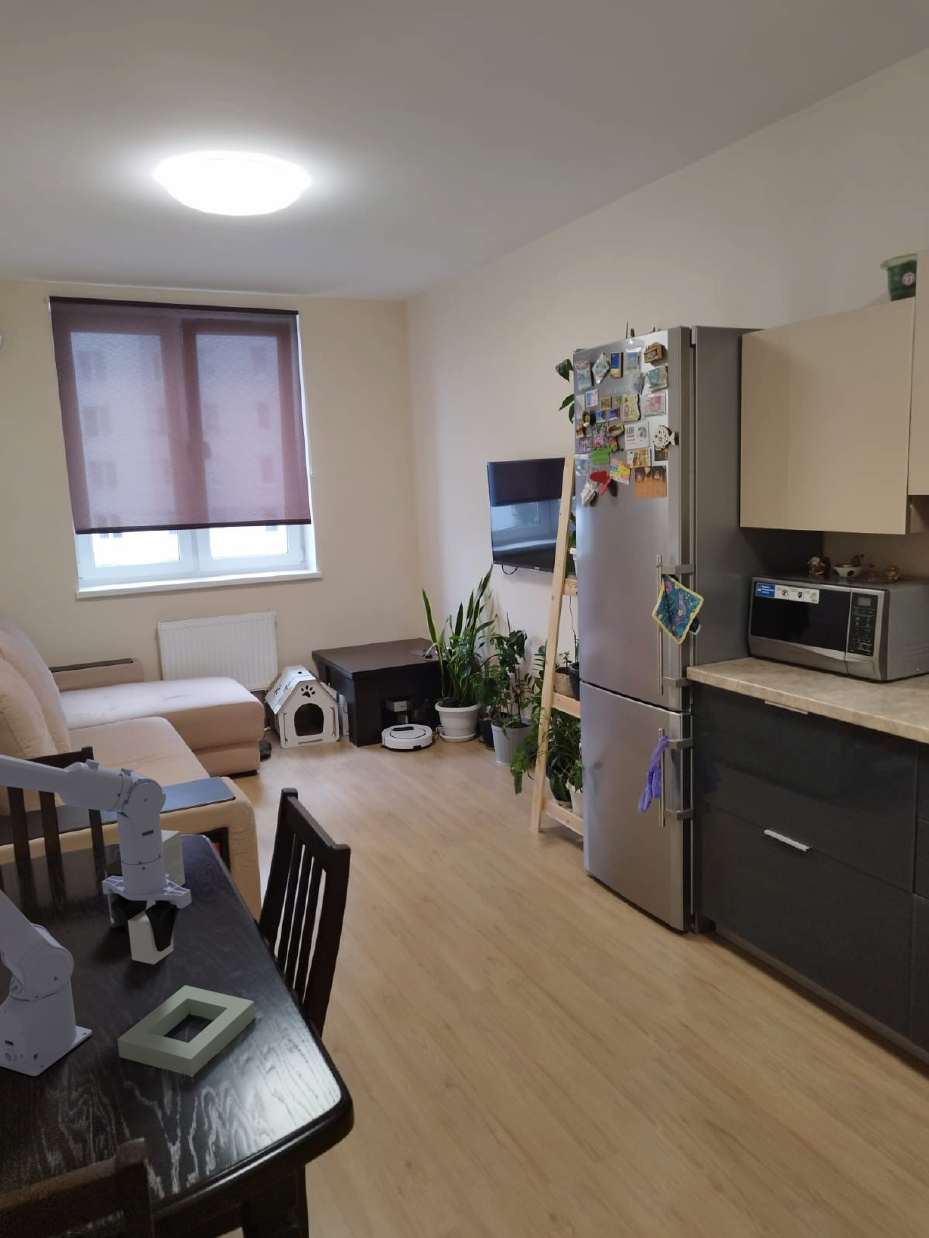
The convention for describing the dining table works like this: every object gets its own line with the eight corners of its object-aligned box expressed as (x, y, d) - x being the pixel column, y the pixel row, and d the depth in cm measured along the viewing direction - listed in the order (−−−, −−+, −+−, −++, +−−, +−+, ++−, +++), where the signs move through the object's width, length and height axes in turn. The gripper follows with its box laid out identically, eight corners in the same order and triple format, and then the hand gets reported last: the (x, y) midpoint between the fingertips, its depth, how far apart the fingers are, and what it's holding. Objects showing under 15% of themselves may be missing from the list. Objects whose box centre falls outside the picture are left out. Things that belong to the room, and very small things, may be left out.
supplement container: (159, 922, 149) (153, 865, 147) (119, 937, 145) (112, 878, 143) (144, 909, 154) (138, 853, 152) (105, 922, 150) (98, 865, 148)
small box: (130, 892, 161) (125, 838, 159) (150, 879, 166) (144, 826, 164) (168, 897, 158) (162, 842, 157) (186, 883, 164) (181, 830, 162)
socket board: (192, 1077, 109) (190, 1059, 109) (119, 1056, 114) (117, 1038, 113) (255, 1017, 121) (254, 1001, 120) (186, 1000, 125) (185, 985, 125)
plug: (153, 964, 123) (149, 924, 122) (132, 959, 125) (127, 920, 124) (179, 946, 128) (175, 907, 127) (157, 941, 130) (154, 903, 129)
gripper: (202, 851, 124) (210, 939, 126) (124, 839, 130) (133, 923, 132) (167, 872, 118) (176, 964, 120) (87, 858, 124) (97, 947, 126)
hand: (151, 945), depth 126 cm, fingers closed on plug, 4 cm apart
